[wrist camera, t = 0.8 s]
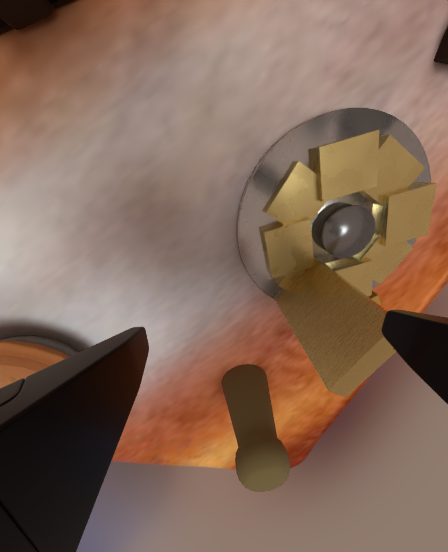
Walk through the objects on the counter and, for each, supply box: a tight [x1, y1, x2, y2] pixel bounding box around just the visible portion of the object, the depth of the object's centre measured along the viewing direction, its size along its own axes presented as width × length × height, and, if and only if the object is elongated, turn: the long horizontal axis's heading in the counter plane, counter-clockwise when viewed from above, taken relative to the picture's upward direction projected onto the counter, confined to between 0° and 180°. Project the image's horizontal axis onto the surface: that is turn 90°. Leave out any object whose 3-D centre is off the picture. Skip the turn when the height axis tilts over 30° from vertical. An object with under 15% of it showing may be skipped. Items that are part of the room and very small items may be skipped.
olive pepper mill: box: [222, 364, 290, 492], centre depth 25 cm, size 6×6×11 cm
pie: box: [0, 336, 79, 388], centre depth 24 cm, size 15×16×5 cm
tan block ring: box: [259, 130, 436, 397], centre depth 16 cm, size 16×14×10 cm
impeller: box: [237, 108, 431, 305], centre depth 20 cm, size 18×18×3 cm
